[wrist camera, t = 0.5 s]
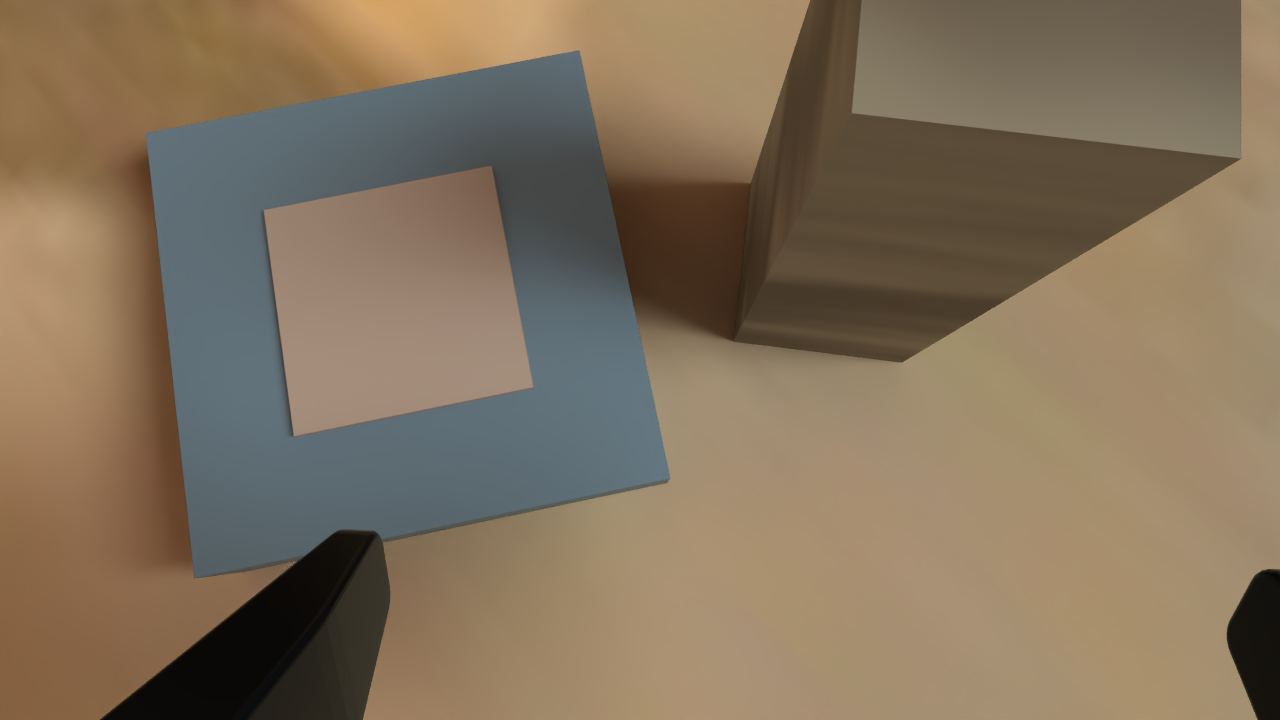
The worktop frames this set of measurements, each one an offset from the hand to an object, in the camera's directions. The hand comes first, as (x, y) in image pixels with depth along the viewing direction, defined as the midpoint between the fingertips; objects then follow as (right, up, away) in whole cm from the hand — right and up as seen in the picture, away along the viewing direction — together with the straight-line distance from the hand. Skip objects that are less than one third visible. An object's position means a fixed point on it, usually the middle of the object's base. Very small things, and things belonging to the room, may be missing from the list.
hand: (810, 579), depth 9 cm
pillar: (+3, +5, +14) cm, 15 cm away
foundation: (-8, +3, +14) cm, 16 cm away
